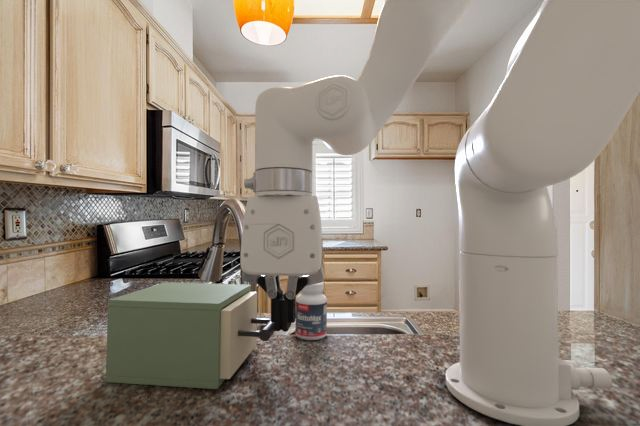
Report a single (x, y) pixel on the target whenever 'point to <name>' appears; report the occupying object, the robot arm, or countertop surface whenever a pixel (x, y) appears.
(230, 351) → the drawer
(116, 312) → the cabinet
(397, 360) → the countertop surface
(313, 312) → the pill bottle
